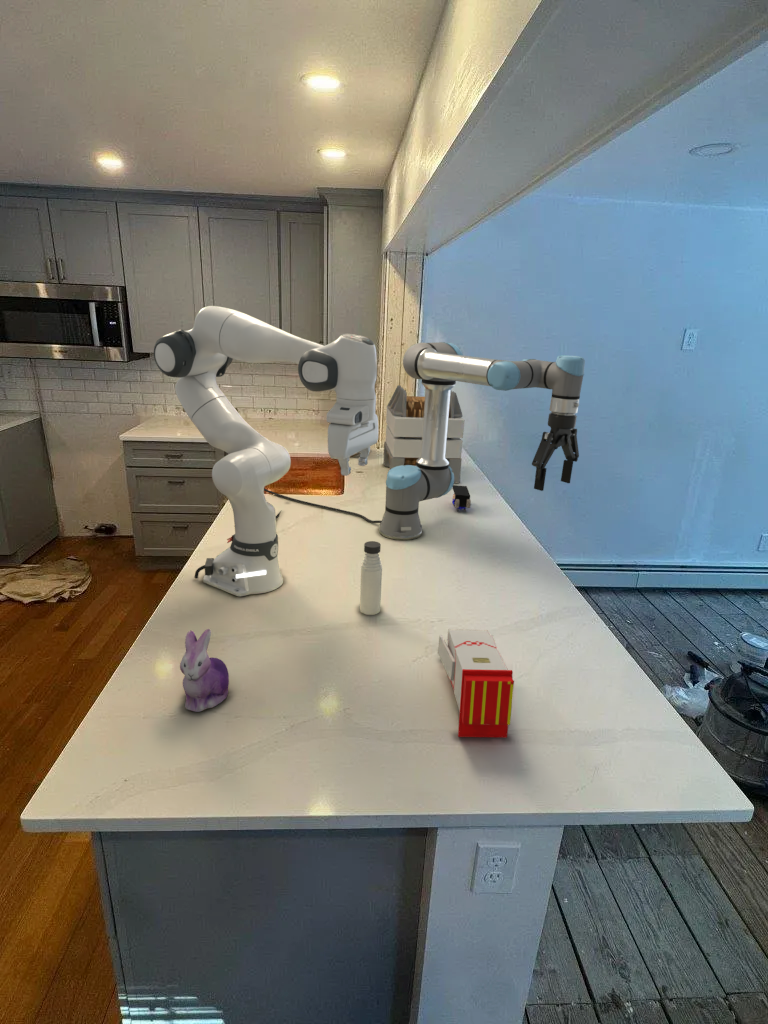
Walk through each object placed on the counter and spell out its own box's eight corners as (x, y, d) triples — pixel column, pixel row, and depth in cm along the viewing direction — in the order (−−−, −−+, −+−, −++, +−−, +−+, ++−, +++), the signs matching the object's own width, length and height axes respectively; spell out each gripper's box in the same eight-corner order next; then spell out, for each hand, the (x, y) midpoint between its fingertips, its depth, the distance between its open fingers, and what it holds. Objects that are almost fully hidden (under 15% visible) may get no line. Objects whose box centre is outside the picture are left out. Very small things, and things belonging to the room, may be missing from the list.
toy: (488, 613, 130) (523, 677, 101) (484, 667, 133) (517, 744, 104) (435, 612, 130) (455, 676, 101) (432, 666, 133) (451, 743, 103)
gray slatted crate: (382, 463, 289) (386, 382, 275) (445, 464, 293) (451, 384, 279) (390, 482, 257) (394, 392, 243) (460, 483, 261) (468, 394, 247)
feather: (288, 505, 226) (290, 501, 226) (271, 529, 199) (273, 524, 199) (284, 503, 226) (287, 499, 225) (266, 526, 199) (269, 522, 199)
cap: (361, 548, 144) (362, 542, 144) (376, 546, 146) (376, 540, 145) (367, 555, 141) (367, 548, 140) (382, 552, 142) (383, 546, 142)
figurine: (186, 720, 107) (180, 652, 102) (178, 689, 115) (171, 624, 110) (237, 706, 111) (233, 640, 106) (225, 677, 119) (221, 615, 114)
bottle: (356, 606, 150) (358, 543, 144) (375, 603, 152) (378, 540, 146) (364, 616, 146) (366, 551, 139) (383, 612, 148) (386, 548, 142)
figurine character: (470, 516, 223) (465, 500, 237) (473, 499, 220) (467, 484, 233) (453, 516, 223) (449, 500, 236) (455, 498, 220) (451, 483, 233)
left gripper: (361, 402, 137) (360, 458, 142) (322, 415, 119) (322, 478, 124) (386, 405, 135) (383, 461, 140) (349, 418, 117) (348, 482, 122)
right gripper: (548, 419, 148) (537, 496, 155) (598, 411, 163) (586, 482, 171) (525, 414, 153) (515, 489, 160) (575, 407, 169) (564, 476, 176)
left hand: (354, 469), depth 132 cm, fingers open, 8 cm apart
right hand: (552, 485), depth 166 cm, fingers open, 13 cm apart
